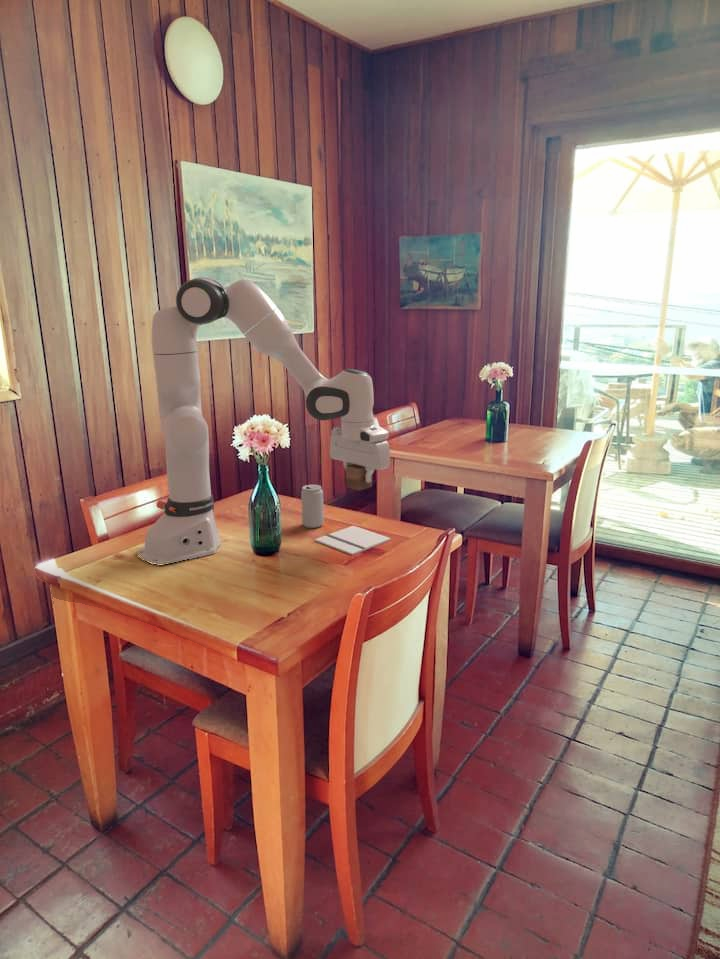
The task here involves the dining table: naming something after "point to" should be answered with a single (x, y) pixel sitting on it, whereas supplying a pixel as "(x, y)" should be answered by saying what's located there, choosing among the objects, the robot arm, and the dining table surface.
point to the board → (352, 540)
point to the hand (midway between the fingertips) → (359, 479)
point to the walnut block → (356, 477)
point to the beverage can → (312, 506)
